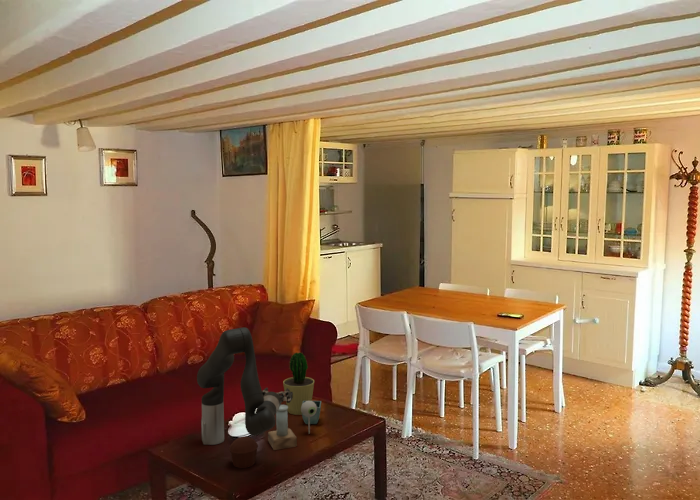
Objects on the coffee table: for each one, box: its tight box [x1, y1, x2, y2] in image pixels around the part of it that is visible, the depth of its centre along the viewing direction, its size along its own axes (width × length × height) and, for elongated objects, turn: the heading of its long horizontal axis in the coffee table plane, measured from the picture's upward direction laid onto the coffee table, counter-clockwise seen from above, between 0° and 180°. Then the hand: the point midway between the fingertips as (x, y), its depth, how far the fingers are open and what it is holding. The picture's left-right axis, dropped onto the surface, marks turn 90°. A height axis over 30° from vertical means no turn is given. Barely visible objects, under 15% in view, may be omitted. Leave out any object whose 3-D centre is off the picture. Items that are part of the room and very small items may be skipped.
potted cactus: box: [282, 352, 315, 416], centre depth 289 cm, size 15×15×30 cm
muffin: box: [228, 436, 259, 469], centre depth 232 cm, size 12×11×10 cm
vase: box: [275, 404, 289, 436], centre depth 250 cm, size 5×5×12 cm
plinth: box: [267, 428, 298, 451], centre depth 251 cm, size 10×10×4 cm
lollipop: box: [301, 400, 317, 435], centre depth 261 cm, size 7×7×15 cm
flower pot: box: [301, 400, 322, 425], centre depth 274 cm, size 9×9×9 cm
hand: (277, 390), depth 239 cm, fingers open, 8 cm apart
